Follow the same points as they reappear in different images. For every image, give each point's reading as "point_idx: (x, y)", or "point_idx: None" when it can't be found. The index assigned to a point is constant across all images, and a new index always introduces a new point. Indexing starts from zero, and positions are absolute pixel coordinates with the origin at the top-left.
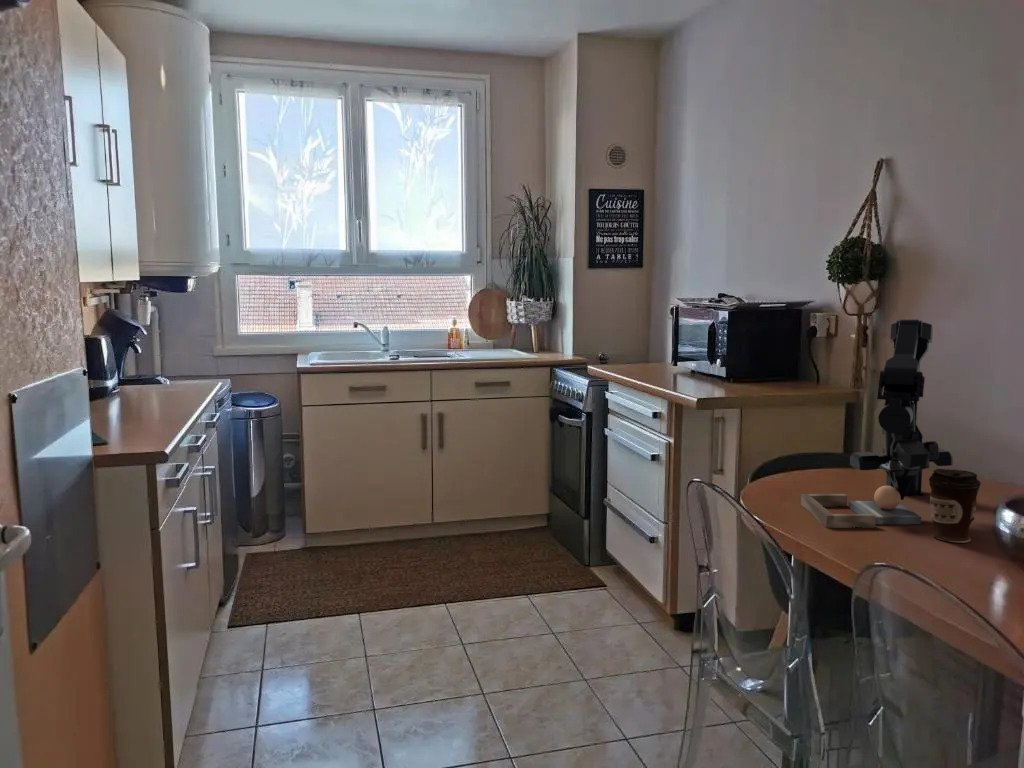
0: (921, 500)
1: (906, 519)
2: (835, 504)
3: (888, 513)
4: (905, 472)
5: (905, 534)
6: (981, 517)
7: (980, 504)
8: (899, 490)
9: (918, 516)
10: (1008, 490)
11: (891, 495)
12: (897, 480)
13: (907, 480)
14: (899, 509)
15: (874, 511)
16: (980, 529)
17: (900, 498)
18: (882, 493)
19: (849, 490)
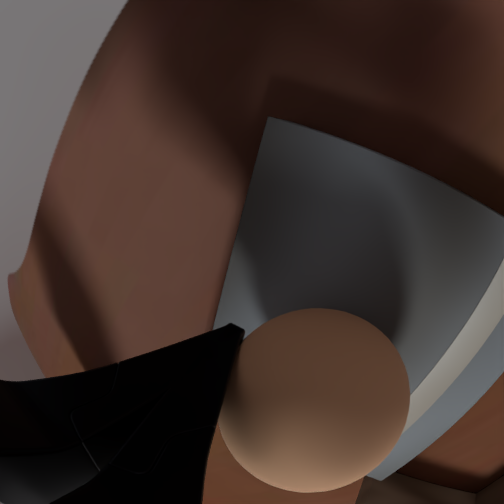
0: (112, 356)
1: (370, 150)
2: (411, 484)
3: (418, 277)
4: (39, 475)
5: (500, 16)
6: (58, 154)
7: (35, 253)
8: (227, 383)
9: (278, 131)
10: (9, 289)
11: (348, 376)
12: (191, 479)
13: (91, 400)
14: (278, 305)
15: (456, 346)
16: (120, 24)
17: (254, 333)
18: (388, 434)
19: (233, 493)
